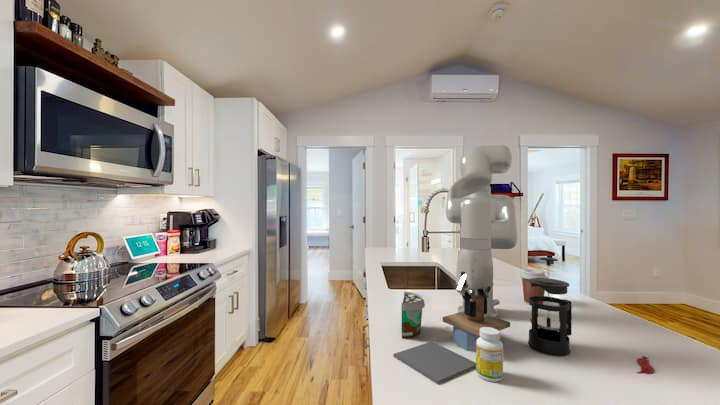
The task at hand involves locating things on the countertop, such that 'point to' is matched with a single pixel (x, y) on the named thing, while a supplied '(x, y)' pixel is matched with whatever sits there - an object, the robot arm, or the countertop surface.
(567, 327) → the french press
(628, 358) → the countertop surface
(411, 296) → the food container
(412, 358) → the mat
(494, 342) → the supplement bottle
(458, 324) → the lid
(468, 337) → the bowl
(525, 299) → the coffee cup
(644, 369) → the cayenne pepper
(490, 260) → the robot arm
